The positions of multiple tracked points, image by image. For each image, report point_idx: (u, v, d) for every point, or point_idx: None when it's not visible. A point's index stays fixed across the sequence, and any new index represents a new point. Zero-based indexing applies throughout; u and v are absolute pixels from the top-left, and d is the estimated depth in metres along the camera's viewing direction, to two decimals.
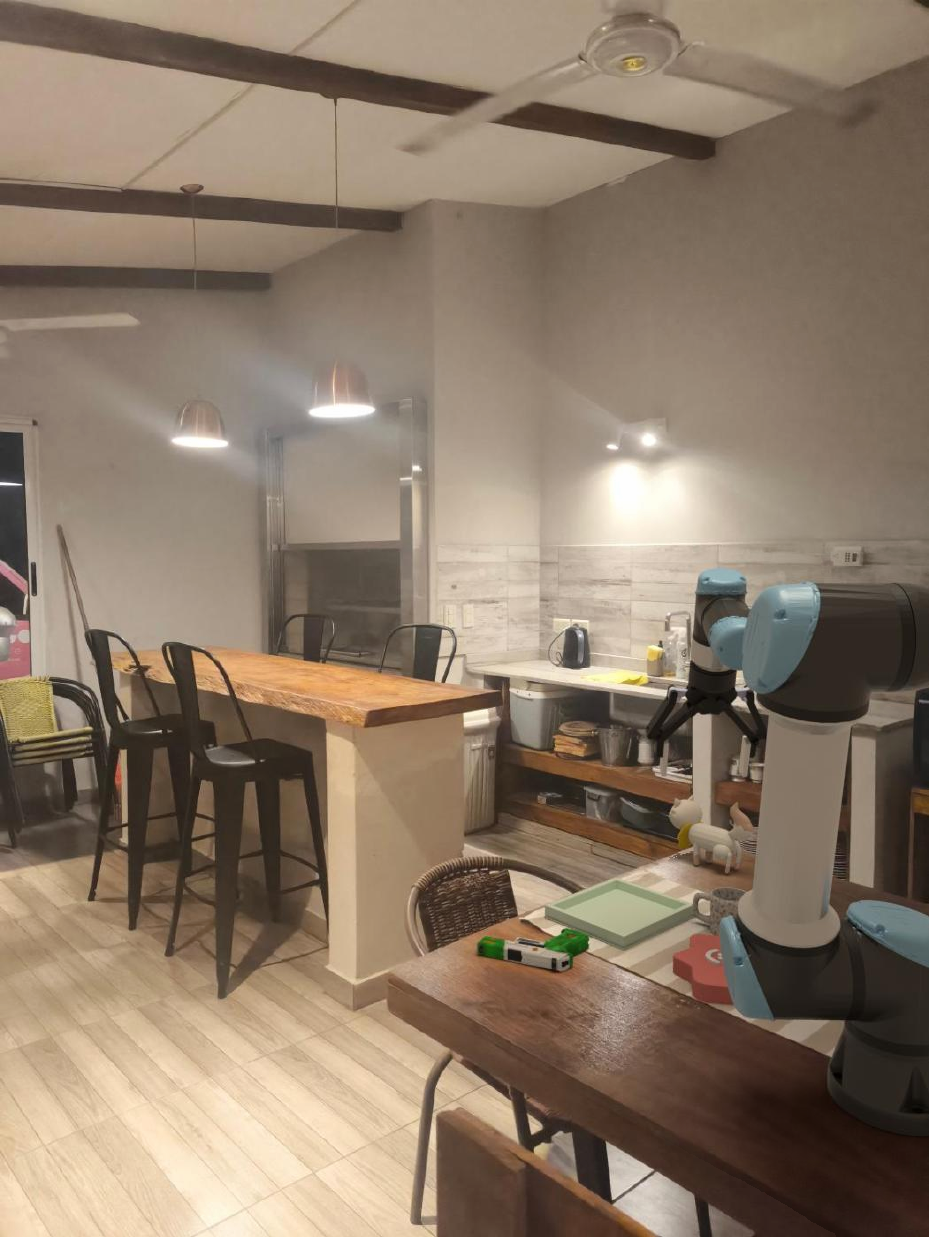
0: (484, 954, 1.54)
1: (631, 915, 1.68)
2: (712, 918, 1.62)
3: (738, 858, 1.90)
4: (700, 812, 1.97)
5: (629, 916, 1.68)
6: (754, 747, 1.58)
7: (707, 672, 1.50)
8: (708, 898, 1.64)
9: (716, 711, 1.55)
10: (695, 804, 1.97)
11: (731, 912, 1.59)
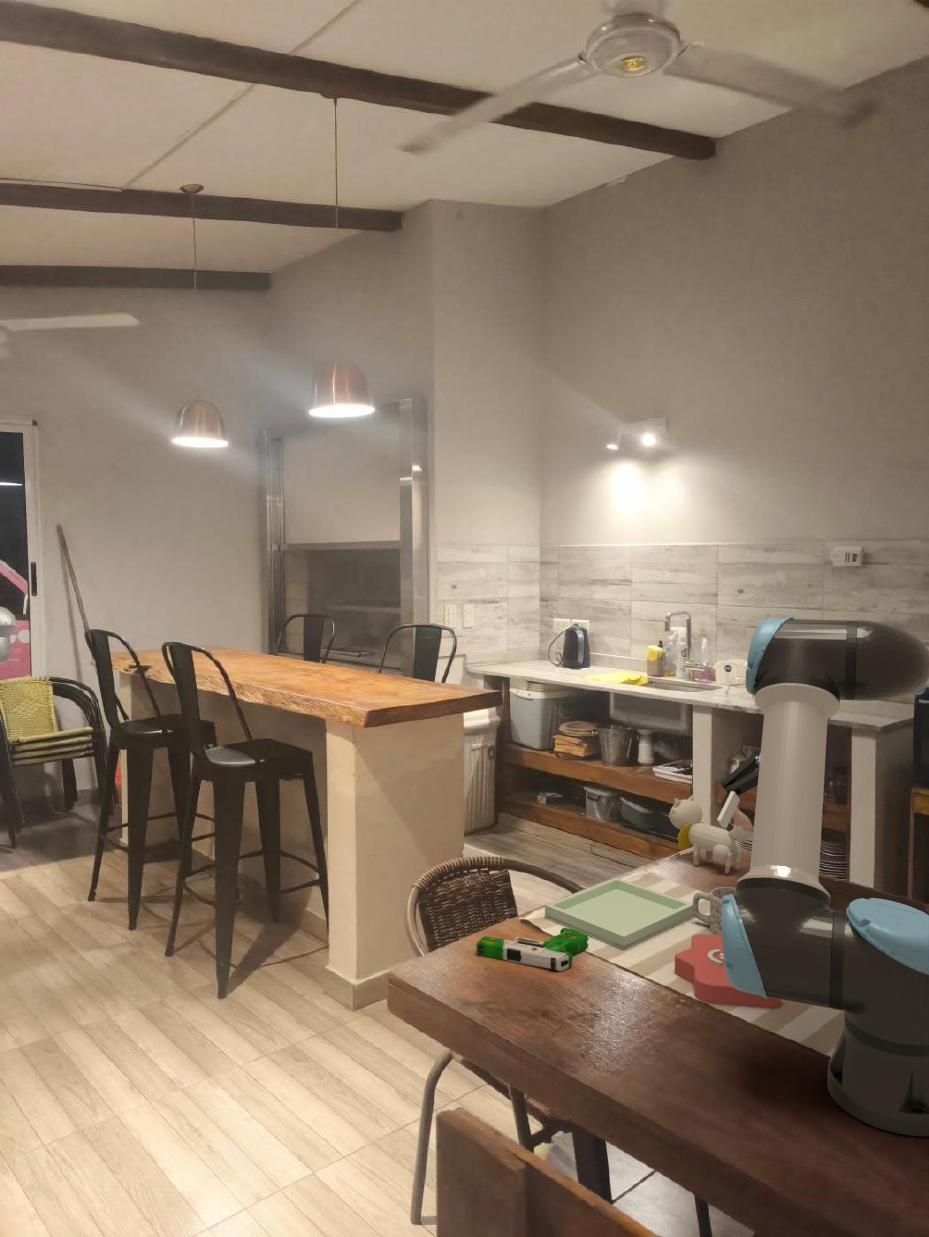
0: (483, 954, 1.54)
1: (631, 915, 1.68)
2: (712, 918, 1.62)
3: (738, 858, 1.90)
4: (700, 812, 1.97)
5: (629, 916, 1.68)
6: None
7: None
8: (708, 898, 1.64)
9: None
10: (695, 804, 1.97)
11: None
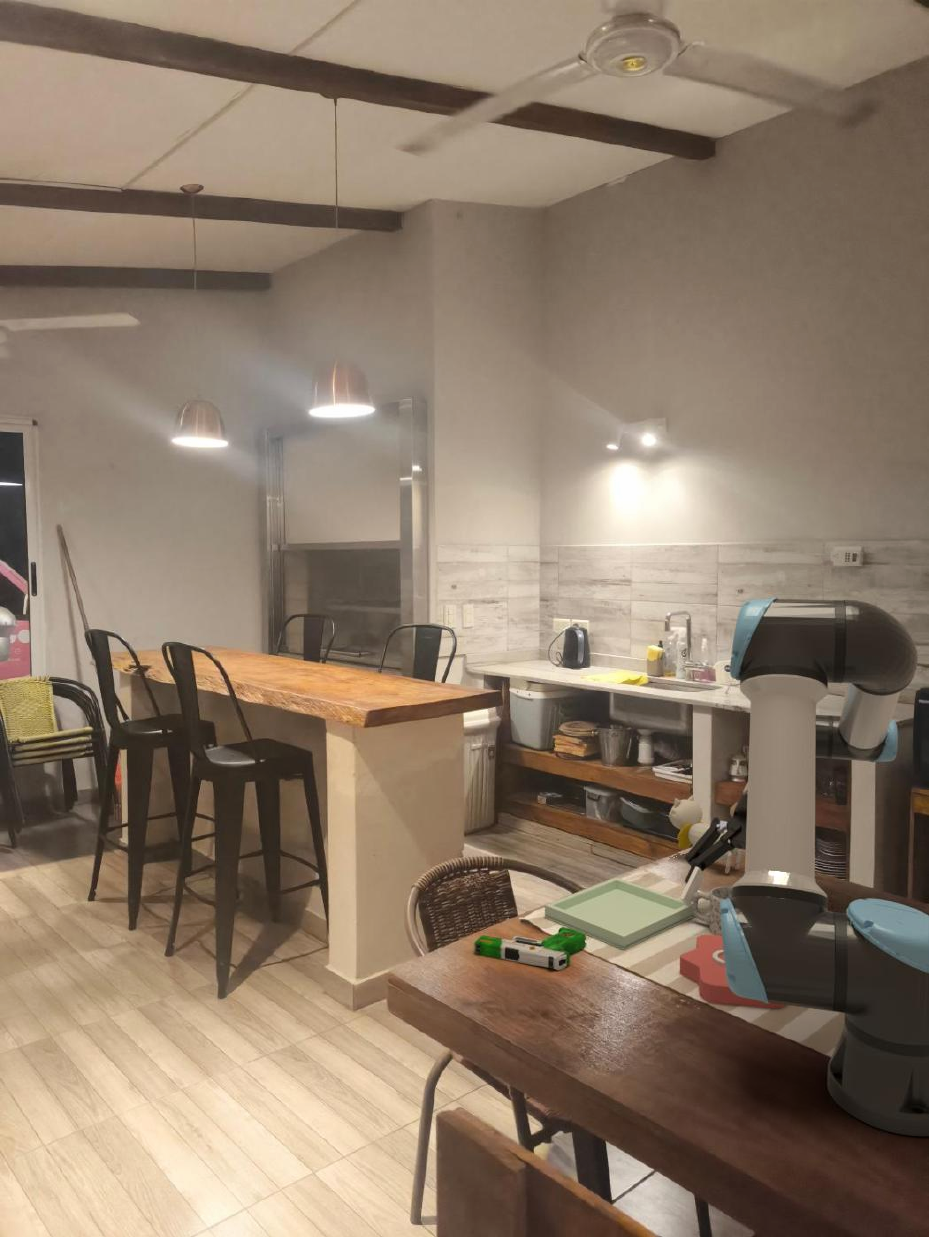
0: (481, 953, 1.54)
1: (631, 915, 1.68)
2: (712, 918, 1.62)
3: (738, 858, 1.90)
4: (700, 812, 1.97)
5: (629, 916, 1.68)
6: None
7: (746, 793, 1.70)
8: (708, 898, 1.64)
9: (745, 842, 1.66)
10: (695, 804, 1.97)
11: None
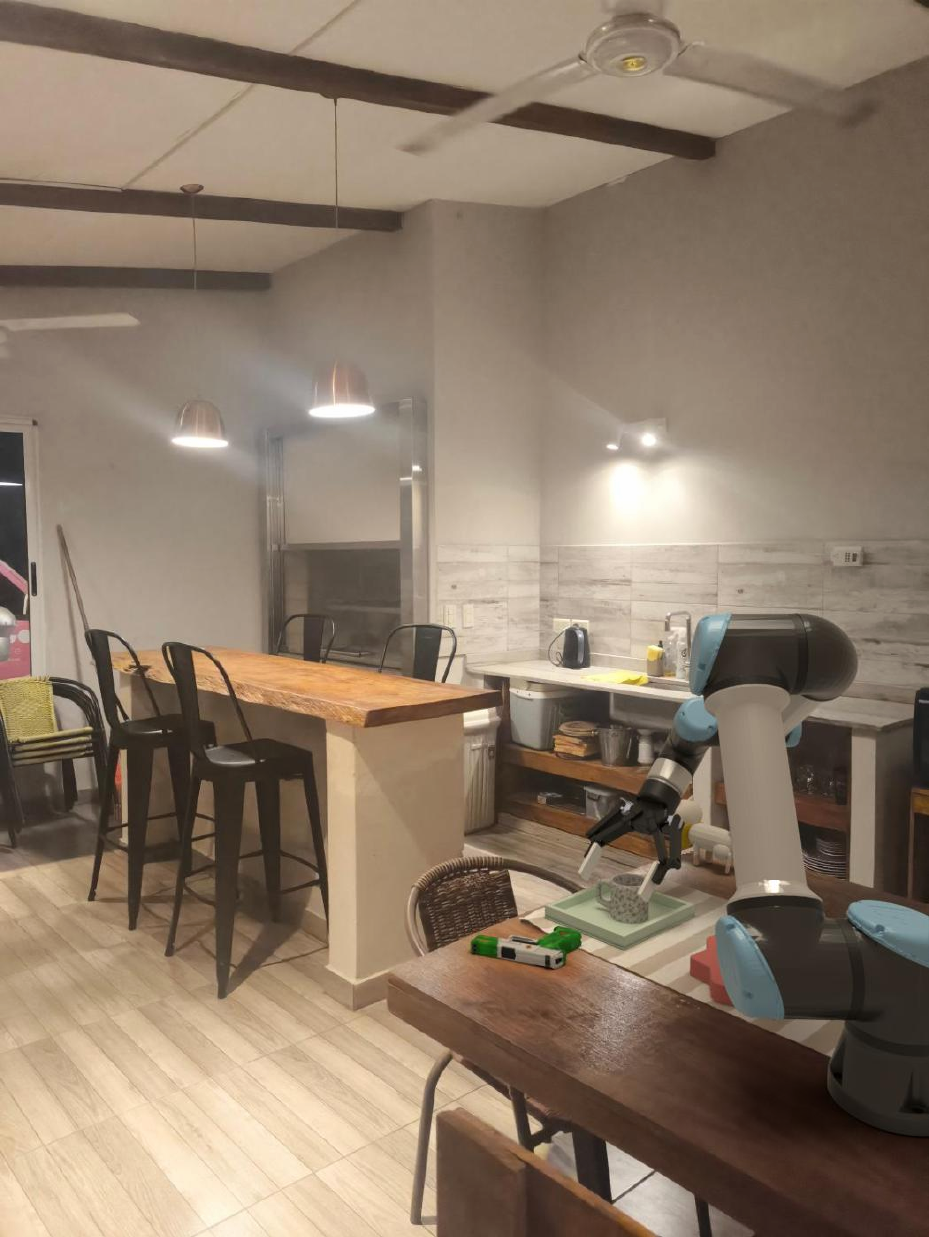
0: (478, 952, 1.54)
1: None
2: (612, 903, 1.67)
3: None
4: (700, 812, 1.97)
5: None
6: (660, 870, 1.63)
7: (648, 779, 1.75)
8: (609, 884, 1.69)
9: (644, 825, 1.71)
10: (695, 804, 1.97)
11: (628, 897, 1.64)
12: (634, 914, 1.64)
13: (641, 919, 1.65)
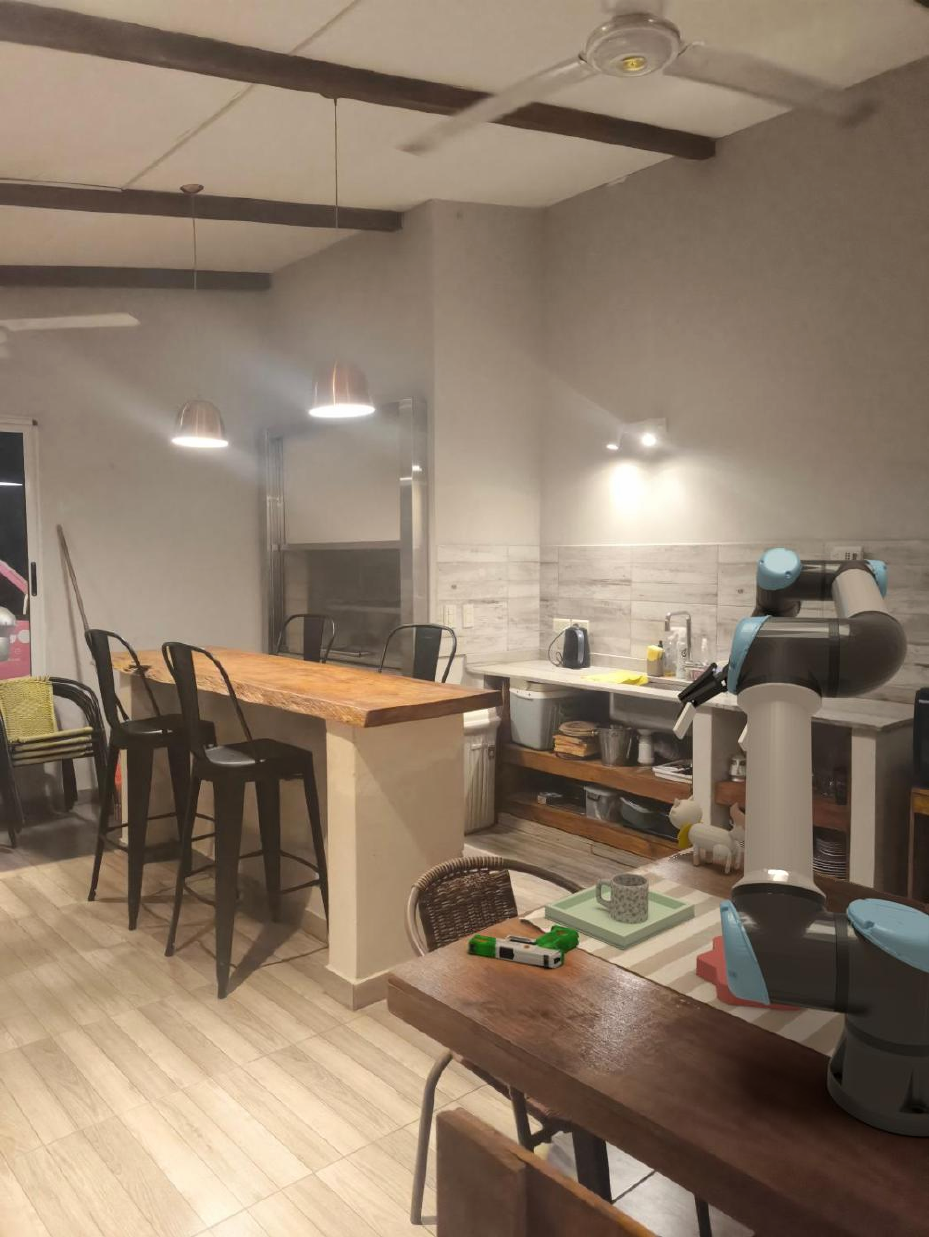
0: (476, 952, 1.54)
1: None
2: (612, 903, 1.67)
3: (738, 858, 1.90)
4: (700, 812, 1.97)
5: None
6: None
7: None
8: (609, 884, 1.69)
9: None
10: (695, 804, 1.97)
11: (628, 897, 1.64)
12: (634, 914, 1.64)
13: (641, 919, 1.65)
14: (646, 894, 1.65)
